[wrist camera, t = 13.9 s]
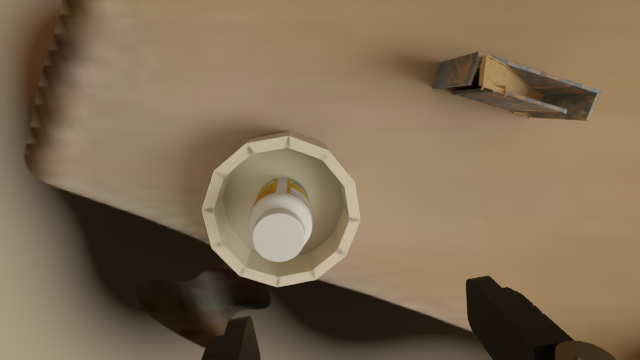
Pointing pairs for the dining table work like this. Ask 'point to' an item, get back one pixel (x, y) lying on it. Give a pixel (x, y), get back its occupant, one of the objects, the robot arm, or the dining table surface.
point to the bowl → (241, 192)
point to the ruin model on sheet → (518, 88)
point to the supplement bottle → (280, 220)
